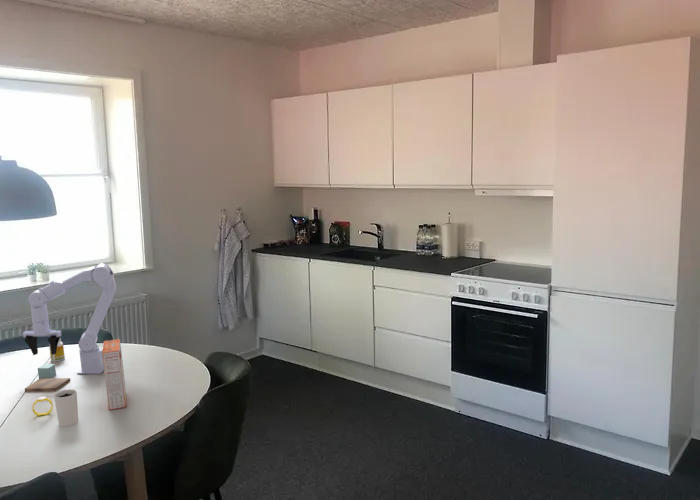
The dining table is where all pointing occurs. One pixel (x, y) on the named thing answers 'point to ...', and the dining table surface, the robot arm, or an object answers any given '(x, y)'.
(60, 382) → the walnut board
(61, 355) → the supplement bottle
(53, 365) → the teal cube
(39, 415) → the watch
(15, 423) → the dining table surface
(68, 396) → the white cup
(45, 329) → the robot arm
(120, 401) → the cracker box
